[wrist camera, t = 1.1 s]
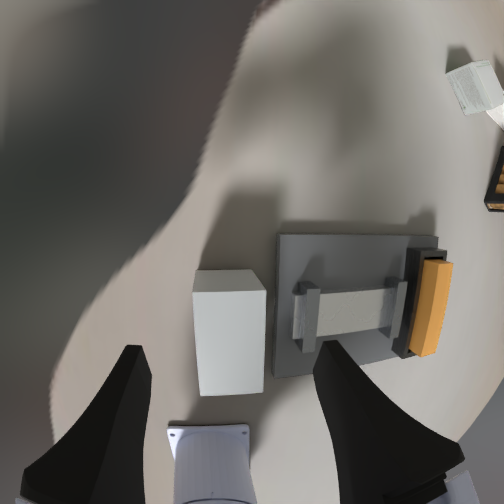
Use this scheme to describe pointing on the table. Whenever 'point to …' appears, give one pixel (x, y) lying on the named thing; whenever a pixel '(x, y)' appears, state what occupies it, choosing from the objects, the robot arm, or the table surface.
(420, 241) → the mounting board
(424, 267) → the locking tab
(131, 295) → the table surface
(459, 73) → the small box
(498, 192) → the ammunition clip
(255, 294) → the block
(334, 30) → the table surface
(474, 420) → the table surface
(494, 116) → the cable organizer
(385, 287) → the gray slotted fixture
